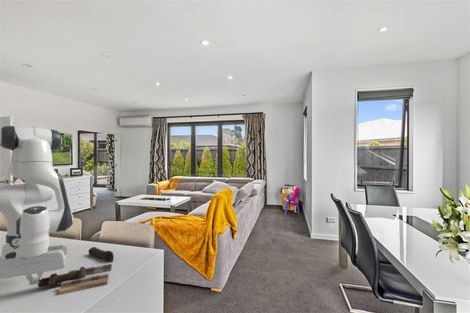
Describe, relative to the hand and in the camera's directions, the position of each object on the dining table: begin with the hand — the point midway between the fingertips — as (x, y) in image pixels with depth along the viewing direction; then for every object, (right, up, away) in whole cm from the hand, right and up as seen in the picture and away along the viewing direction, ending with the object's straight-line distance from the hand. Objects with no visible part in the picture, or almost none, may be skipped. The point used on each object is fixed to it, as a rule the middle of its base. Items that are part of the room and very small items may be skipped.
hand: (34, 283), depth 85 cm
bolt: (+8, -2, +3) cm, 9 cm away
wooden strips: (+16, -2, +7) cm, 18 cm away
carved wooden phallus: (+10, -3, +28) cm, 30 cm away
